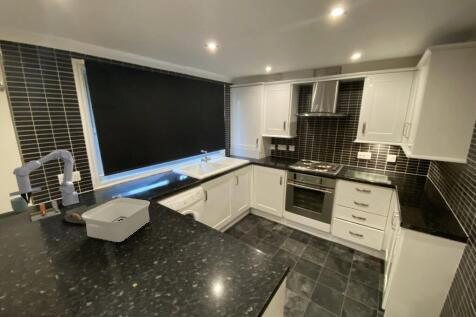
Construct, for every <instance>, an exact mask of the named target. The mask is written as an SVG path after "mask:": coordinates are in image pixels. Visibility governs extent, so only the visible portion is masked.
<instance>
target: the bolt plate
mask: <svg viewBox="0 0 476 317" xmlns="http://www.w3.org/2000/svg"><path fill="white" fill-rule="evenodd" d="M61 214H62V213H61V210H60V209H58V211H56V210H54V211H50V212H46V213H45V215H44V214H43V213H42V214H38V215H34V216H31V215H30V219H31V222H36V221H39V220H43V219H47V218H50V217H55V216H59V215H61Z"/></svg>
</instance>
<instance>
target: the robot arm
mask: <svg viewBox="0 0 476 317" xmlns="http://www.w3.org/2000/svg"><path fill="white" fill-rule="evenodd" d="M53 159H60V160H61V161H63V162H64V165H63V166H64V168H63V174H62V175H63V176H62V177H63V178H62V181H61V183H60V185H59V187H58V191H59V192H61V198H62V202H61V204H62V206H64V207H65V206H66V207H67V206H70V205H74V204H78V203H79V202H80V201H79V196H78V192H77V191H75V187H74V185H75V184H74V183H73V171H74V164H75V160H74V158H73V156H72V152H70V151H68V149H67V150H66V149H65V150H64V149H56V150H54V151H52V152H51V151H50V153H49V154H47V155H44V156H43V157H42V158H39V159H37V160H35V159H34V160H29V161H28V163H25V164H23V165H21V166H18V167H15V168H14V170H13V172H12V174H13V175H14V176H15V178H16V179H15V180H16V183H17V188H18V190H17V191H13V192H10V193H9V197H13V196H14V197H15V196H19V195H20V197H22V198H23V199H24V200H25V201H26V202H27V204H28V205H29V204H30V203H31V198H32V195H33V193H35V192H42V188H41V187H37V188H35V187H33V188H32V186H31V180H30V177H29V175H30V173H31V172H33V171H35V170H37V169H39V168H40V167H41V166H42V164H45V163H47V162H49V161H50V160H53Z"/></svg>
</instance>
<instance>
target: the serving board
mask: <svg viewBox="0 0 476 317" xmlns="http://www.w3.org/2000/svg"><path fill="white" fill-rule="evenodd" d="M118 198H122V197H121V196H114V197H112V198H111V197H110V198H107V199H105V200H103V201H100V202H97V203H95V204H91V205H89V206H86V207H84V208H81V209H78V210H76V211H73V212H70V213H68V214H65V215H64V220H65V221H66V222H69V223H72V224H81V225H82V226H86V225H85V224H86V221H85V220H84V219H83V218H82V214H83V213H85V212H87V211H89V210H91V209H94V208H96V207H98V206H100V205H102V204H105V203H107V202H109V201H111V200H114V199H118Z"/></svg>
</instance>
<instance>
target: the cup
mask: <svg viewBox="0 0 476 317" xmlns="http://www.w3.org/2000/svg"><path fill="white" fill-rule="evenodd" d="M10 206H11V209H12V211H13V212H15V213H22V212H26V211H27V210H28V208H29V203H28V204H27V202H26V201H25V200H24V199H23V198H22V197H21V196H19V197H14V198H12V199H10Z"/></svg>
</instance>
